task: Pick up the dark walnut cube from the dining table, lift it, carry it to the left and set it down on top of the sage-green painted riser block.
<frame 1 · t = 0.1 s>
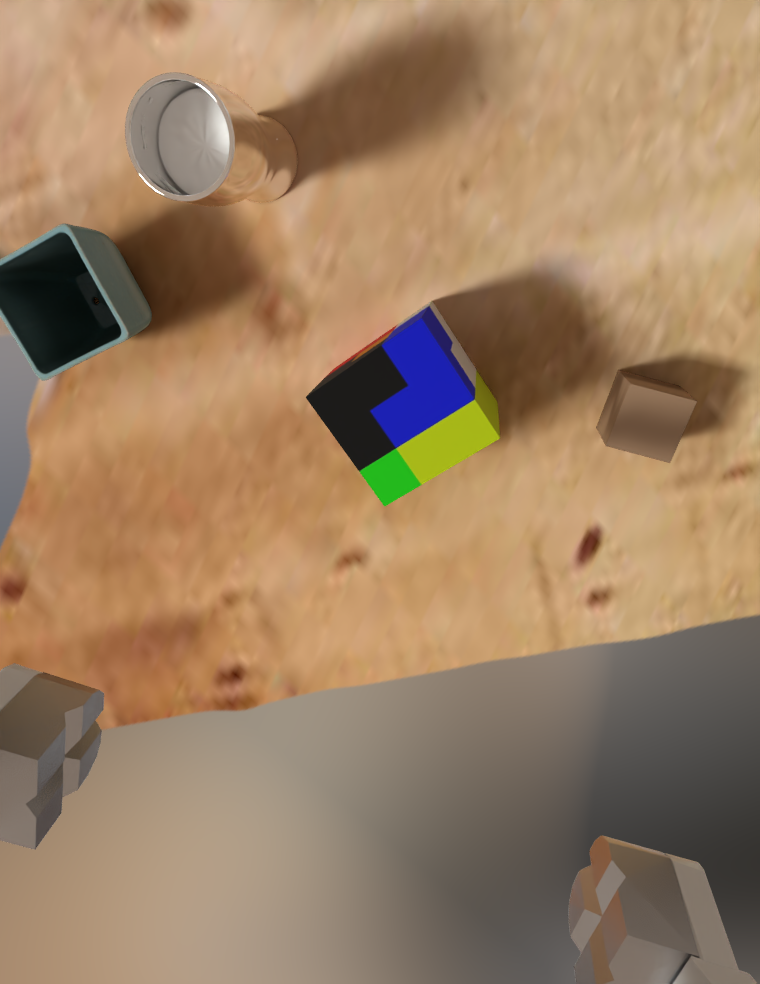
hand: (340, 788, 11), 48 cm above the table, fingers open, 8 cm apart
flower pot: (114, 293, 58), on the table
walnut cube: (636, 406, 55), on the table
puzzle toy: (415, 384, 57), on the table
beer glass: (260, 160, 52), on the table
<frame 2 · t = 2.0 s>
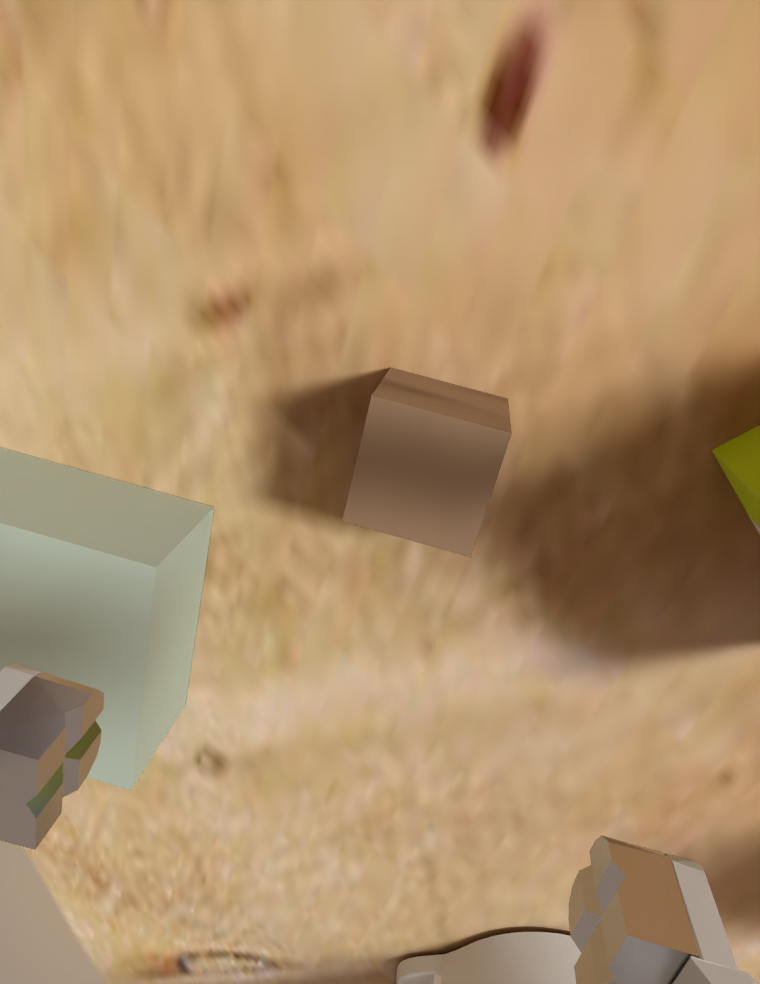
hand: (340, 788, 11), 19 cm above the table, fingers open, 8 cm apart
walnut cube: (433, 438, 29), on the table
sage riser: (86, 580, 34), on the table
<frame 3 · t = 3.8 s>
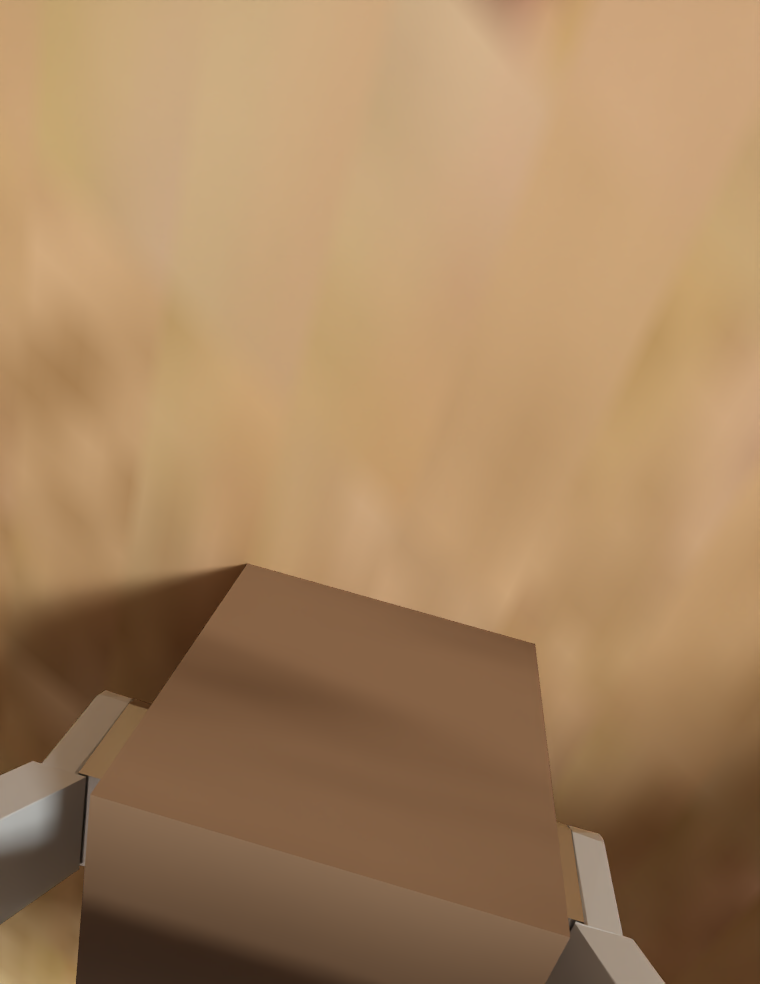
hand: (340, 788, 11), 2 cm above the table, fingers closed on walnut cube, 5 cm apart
walnut cube: (358, 714, 12), on the table, touching gripper
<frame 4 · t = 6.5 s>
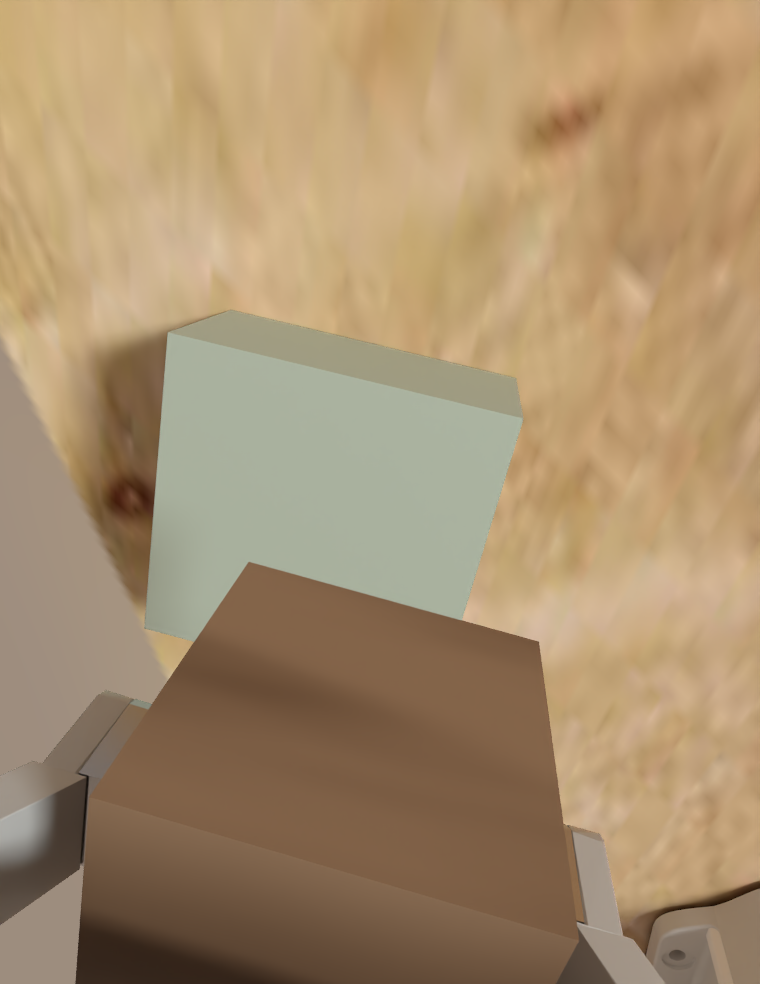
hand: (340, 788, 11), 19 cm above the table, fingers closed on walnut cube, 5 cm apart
walnut cube: (360, 715, 12), point 18 cm above the table, touching gripper
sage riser: (344, 476, 30), on the table
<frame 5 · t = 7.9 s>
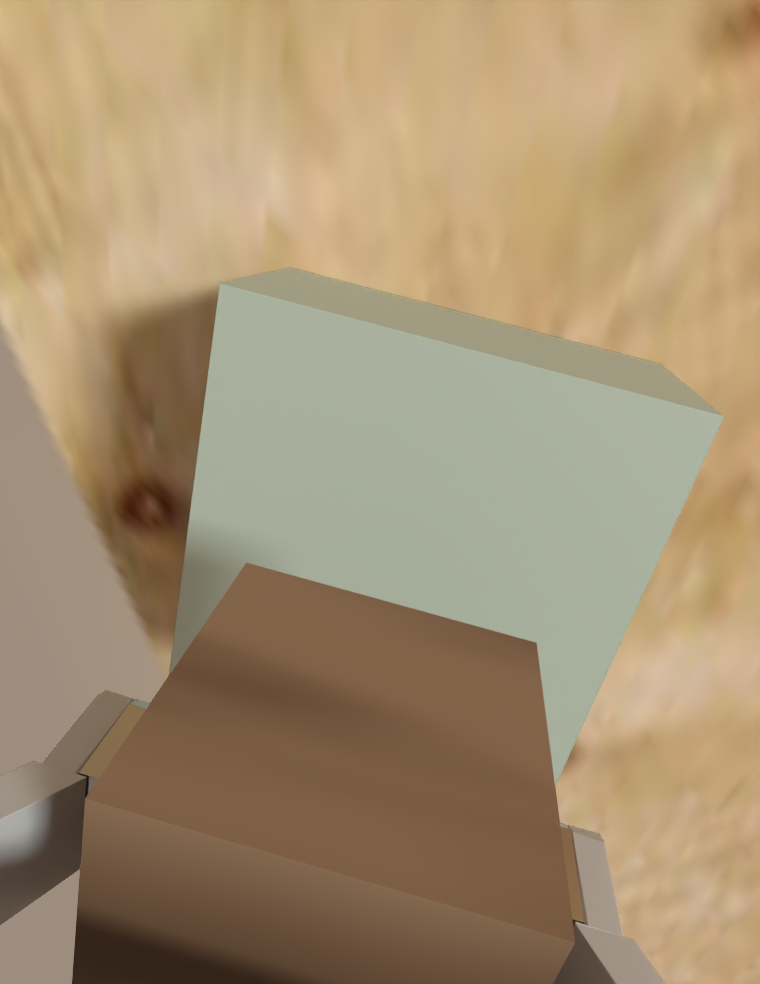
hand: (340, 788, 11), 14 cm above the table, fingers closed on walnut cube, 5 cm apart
walnut cube: (358, 716, 12), point 12 cm above the table, touching gripper
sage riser: (424, 486, 23), on the table
when the fingers open (9 cm above the table, at t = 9.1 s): walnut cube drops 1 cm, resting on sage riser.
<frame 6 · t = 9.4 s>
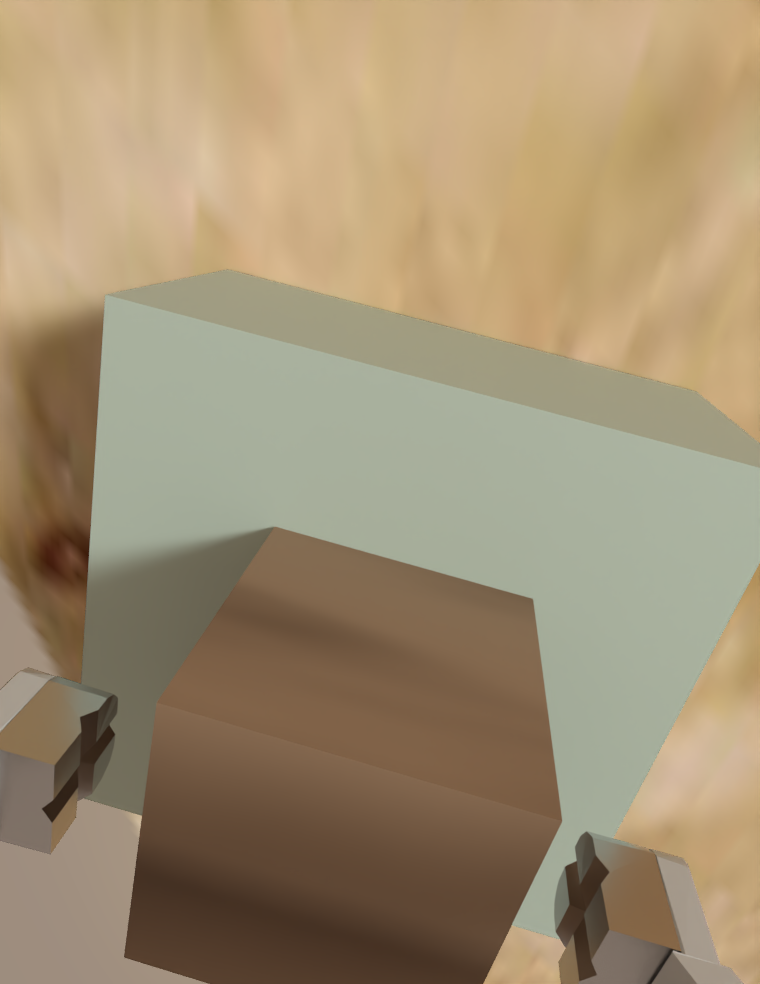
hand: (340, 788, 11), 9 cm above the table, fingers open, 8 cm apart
walnut cube: (372, 667, 14), point 6 cm above the table, touching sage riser
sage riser: (401, 538, 19), on the table
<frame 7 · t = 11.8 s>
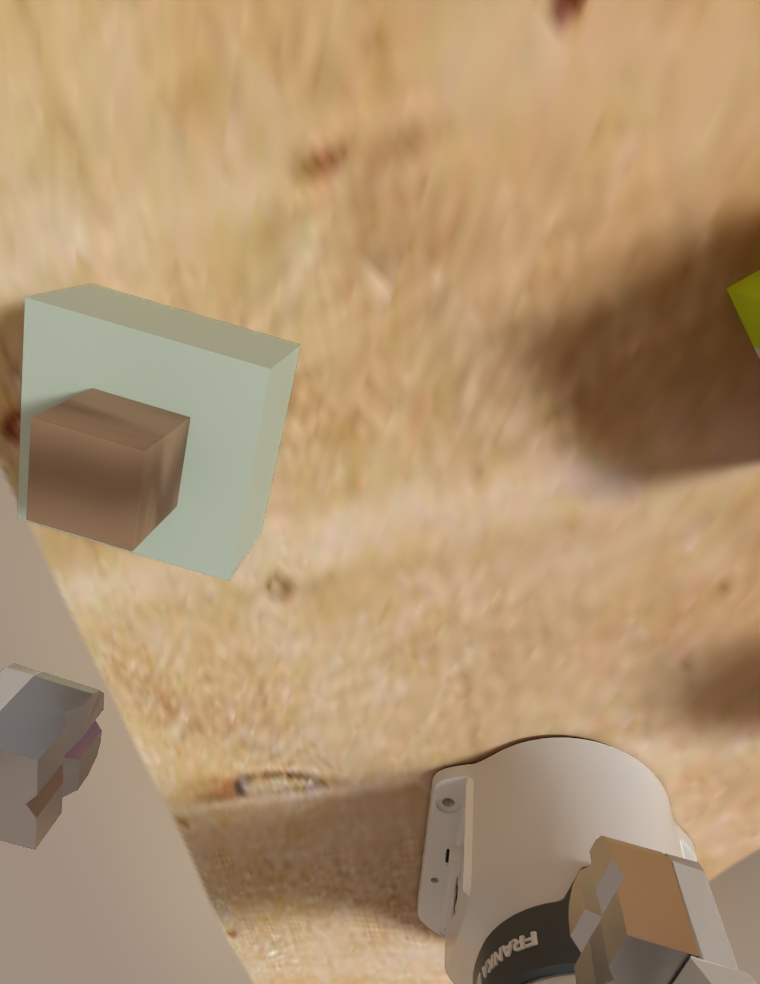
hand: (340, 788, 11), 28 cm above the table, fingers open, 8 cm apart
walnut cube: (136, 448, 34), point 6 cm above the table, touching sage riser
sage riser: (181, 415, 39), on the table
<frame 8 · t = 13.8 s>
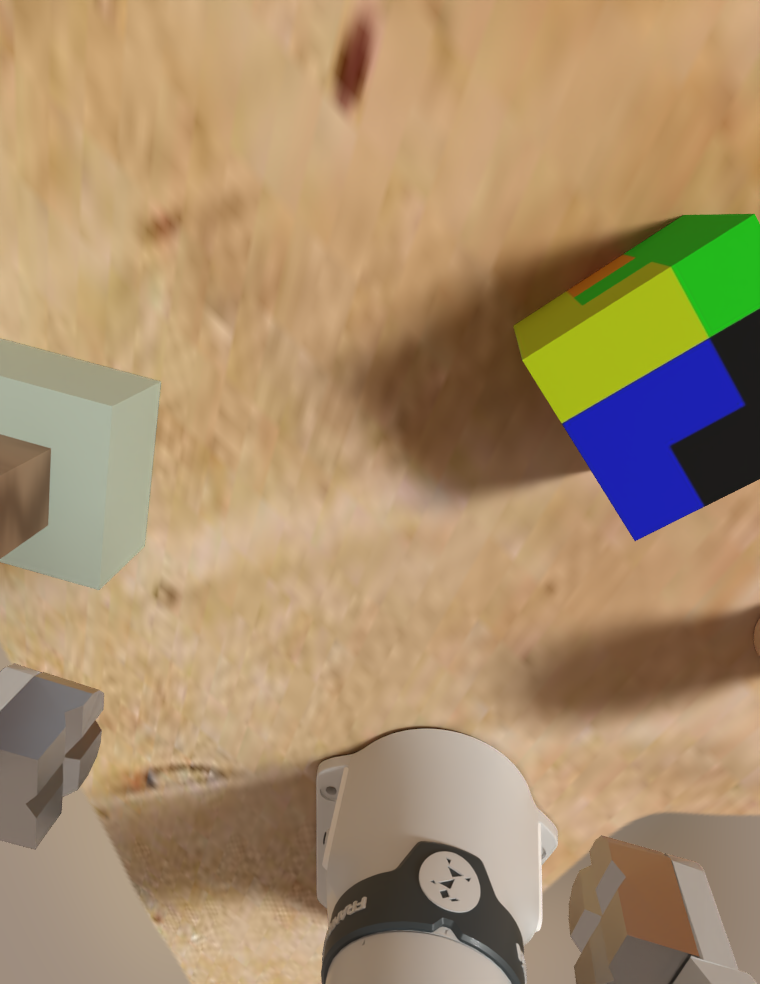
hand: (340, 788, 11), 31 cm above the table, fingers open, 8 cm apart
walnut cube: (9, 476, 39), point 6 cm above the table, touching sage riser
puzzle toy: (638, 349, 38), on the table
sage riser: (66, 444, 45), on the table
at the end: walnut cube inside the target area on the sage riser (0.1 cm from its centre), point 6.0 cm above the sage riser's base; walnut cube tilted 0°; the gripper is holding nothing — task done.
